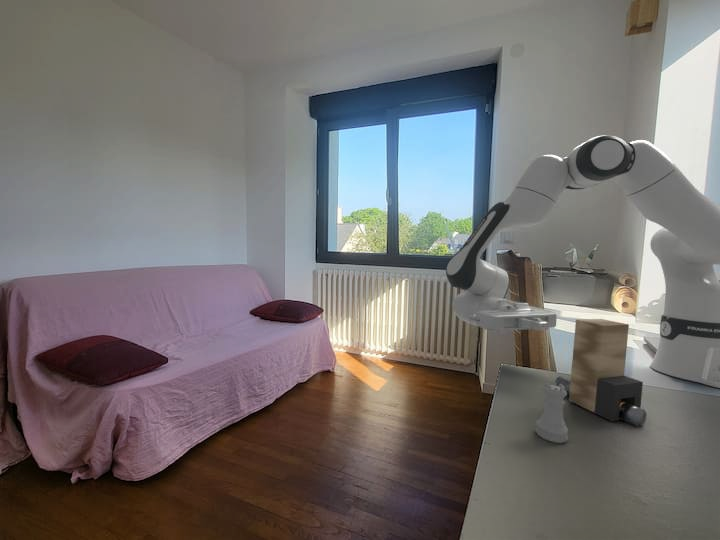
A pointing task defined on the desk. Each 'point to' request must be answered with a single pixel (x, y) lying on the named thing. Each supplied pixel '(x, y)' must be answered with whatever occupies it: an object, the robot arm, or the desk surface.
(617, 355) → the tall wooden block
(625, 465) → the desk surface
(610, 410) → the black block
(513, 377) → the desk surface
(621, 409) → the grey metal rod
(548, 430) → the rook chess piece
